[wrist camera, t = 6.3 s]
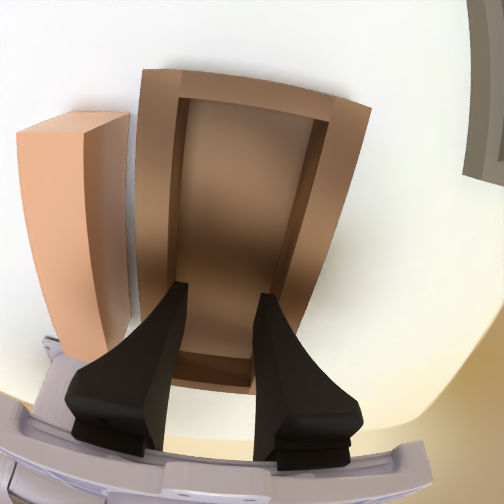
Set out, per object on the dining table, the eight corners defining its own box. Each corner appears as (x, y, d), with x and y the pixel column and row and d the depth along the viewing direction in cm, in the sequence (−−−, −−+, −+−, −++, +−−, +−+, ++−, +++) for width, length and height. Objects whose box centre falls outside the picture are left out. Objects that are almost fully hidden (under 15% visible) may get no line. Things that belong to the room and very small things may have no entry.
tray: (270, 358, 23) (272, 395, 20) (155, 344, 22) (146, 380, 19) (349, 100, 13) (377, 110, 10) (161, 69, 12) (136, 69, 9)
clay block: (132, 314, 21) (112, 369, 16) (90, 305, 20) (65, 355, 16) (131, 112, 13) (83, 133, 9) (74, 110, 13) (16, 132, 9)
